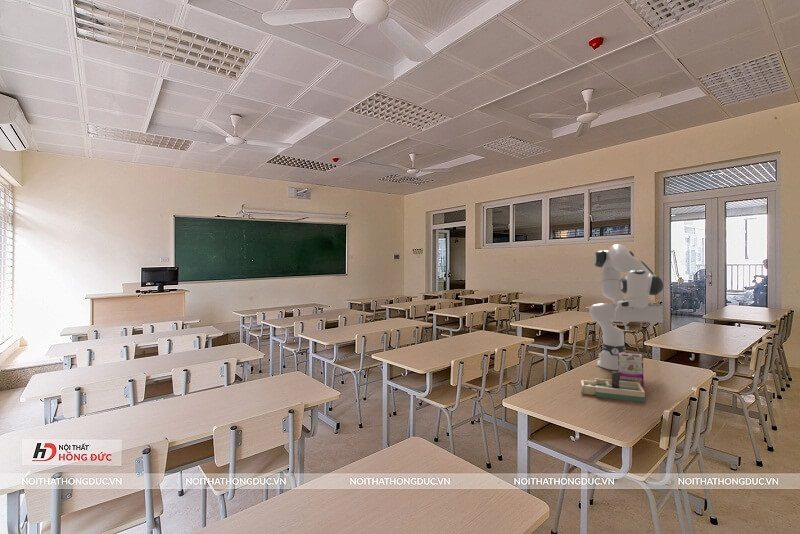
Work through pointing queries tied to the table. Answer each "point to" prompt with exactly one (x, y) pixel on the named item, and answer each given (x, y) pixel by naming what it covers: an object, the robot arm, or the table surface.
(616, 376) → the rod
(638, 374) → the candy bar box
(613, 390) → the pitch
